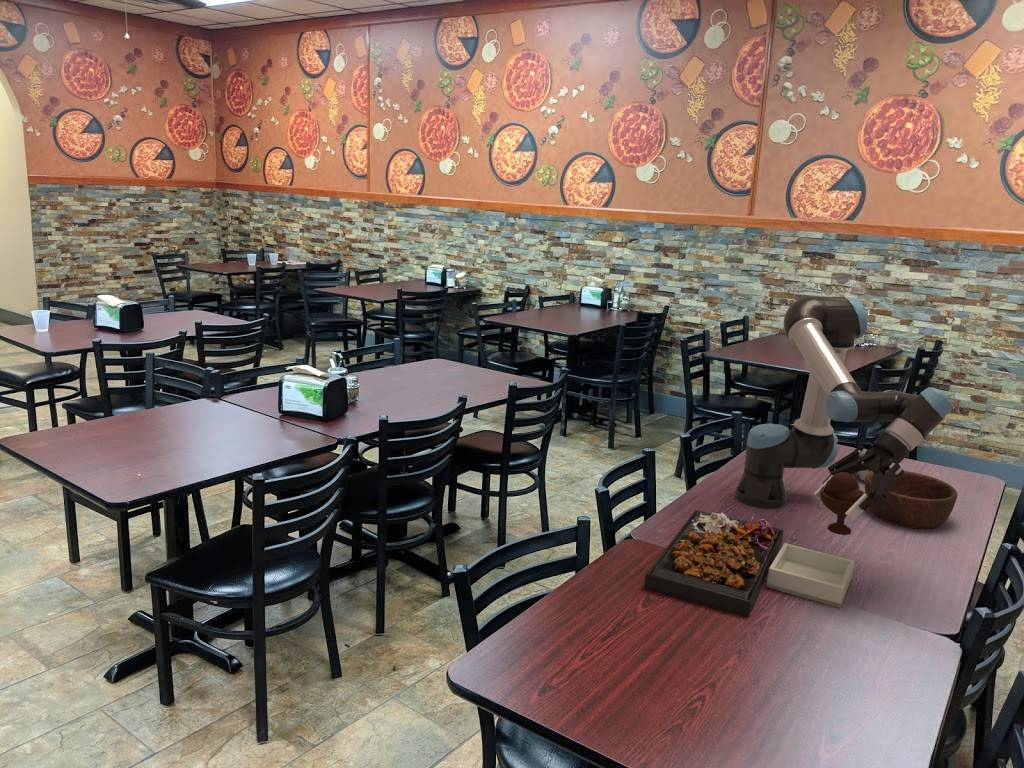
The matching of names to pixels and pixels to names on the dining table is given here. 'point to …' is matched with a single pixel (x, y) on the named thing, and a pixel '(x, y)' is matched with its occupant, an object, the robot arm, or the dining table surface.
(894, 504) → the wooden bowl
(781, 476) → the robot arm
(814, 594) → the bin
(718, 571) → the food platter
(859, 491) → the ice cream bowl
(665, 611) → the dining table surface
